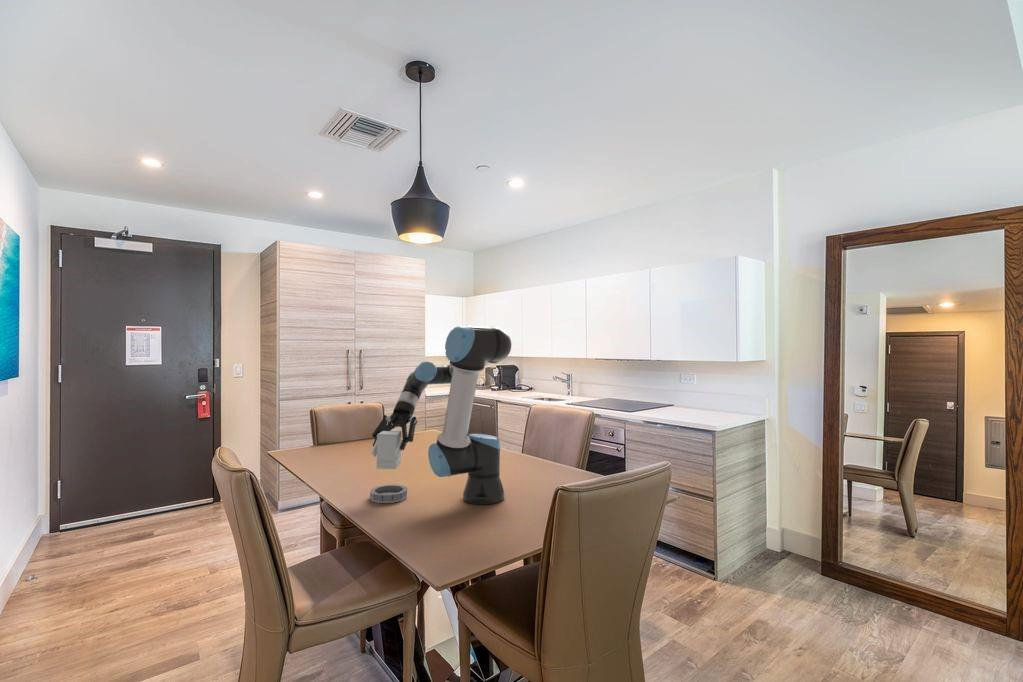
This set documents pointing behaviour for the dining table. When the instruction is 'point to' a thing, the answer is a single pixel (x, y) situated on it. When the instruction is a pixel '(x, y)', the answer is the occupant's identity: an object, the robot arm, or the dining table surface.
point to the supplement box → (388, 449)
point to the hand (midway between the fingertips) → (384, 455)
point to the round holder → (388, 493)
